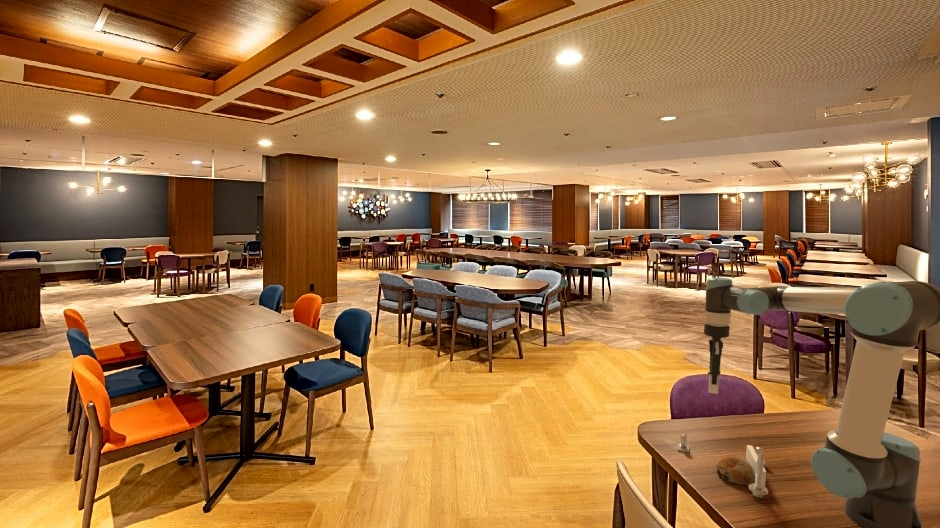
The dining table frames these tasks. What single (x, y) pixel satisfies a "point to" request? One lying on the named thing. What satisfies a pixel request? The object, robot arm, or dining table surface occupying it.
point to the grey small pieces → (685, 448)
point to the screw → (758, 479)
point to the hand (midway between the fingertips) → (713, 392)
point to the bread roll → (736, 470)
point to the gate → (754, 461)
